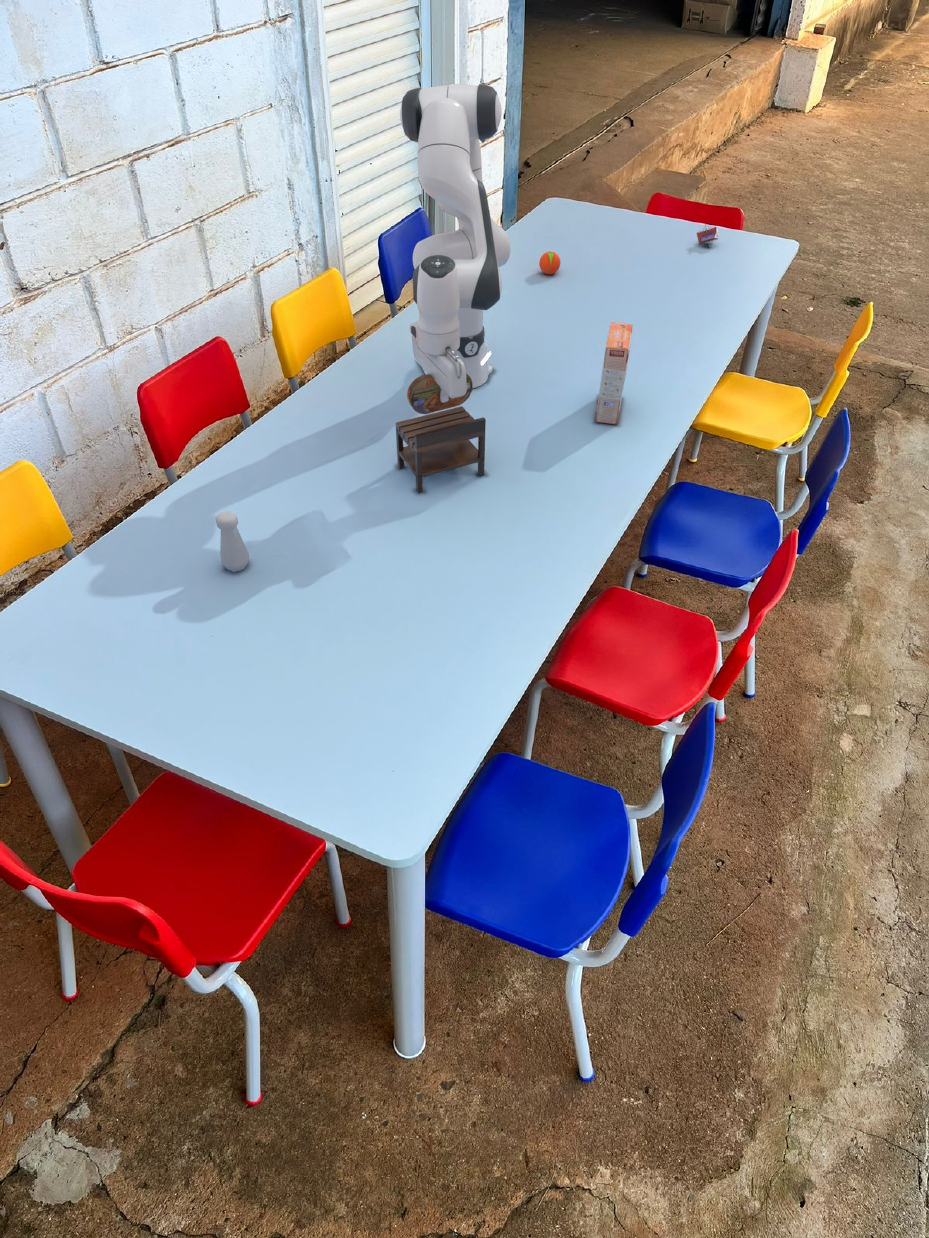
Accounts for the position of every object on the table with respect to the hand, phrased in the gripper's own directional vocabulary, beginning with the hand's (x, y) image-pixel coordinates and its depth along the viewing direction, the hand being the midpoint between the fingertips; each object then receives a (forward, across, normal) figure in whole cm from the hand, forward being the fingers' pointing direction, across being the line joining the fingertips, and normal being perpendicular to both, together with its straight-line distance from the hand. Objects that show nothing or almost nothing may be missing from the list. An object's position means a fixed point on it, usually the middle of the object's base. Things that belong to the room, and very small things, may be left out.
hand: (439, 396), depth 198 cm
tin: (+3, 0, 0) cm, 3 cm away
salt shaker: (+20, -13, +53) cm, 58 cm away
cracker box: (+20, +6, -51) cm, 55 cm away
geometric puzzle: (+20, +85, -142) cm, 167 cm away
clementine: (+20, +87, -80) cm, 120 cm away
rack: (+20, 0, 0) cm, 20 cm away
